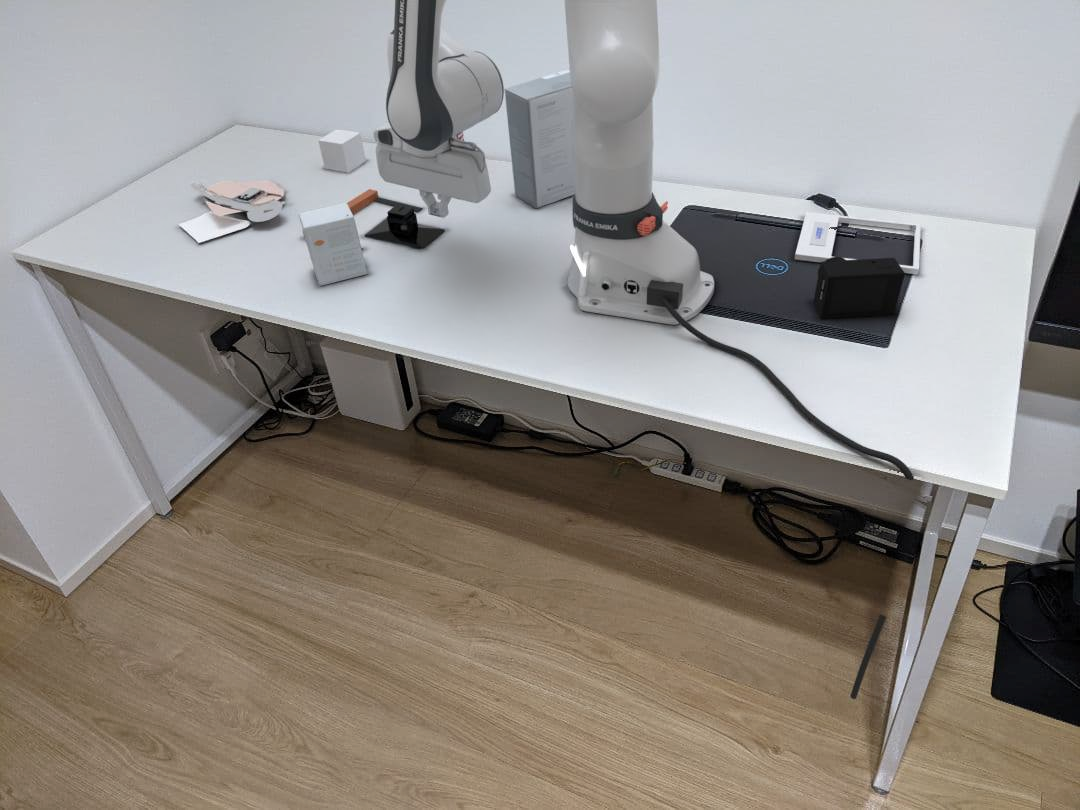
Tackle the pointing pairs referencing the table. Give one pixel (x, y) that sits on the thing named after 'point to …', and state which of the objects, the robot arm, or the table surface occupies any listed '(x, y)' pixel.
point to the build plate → (404, 229)
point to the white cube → (342, 150)
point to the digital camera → (858, 287)
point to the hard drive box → (542, 138)
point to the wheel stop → (362, 201)
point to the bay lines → (394, 203)
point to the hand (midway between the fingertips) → (438, 215)
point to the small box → (333, 243)
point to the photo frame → (820, 238)
